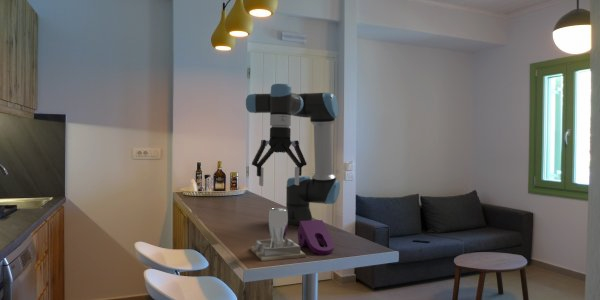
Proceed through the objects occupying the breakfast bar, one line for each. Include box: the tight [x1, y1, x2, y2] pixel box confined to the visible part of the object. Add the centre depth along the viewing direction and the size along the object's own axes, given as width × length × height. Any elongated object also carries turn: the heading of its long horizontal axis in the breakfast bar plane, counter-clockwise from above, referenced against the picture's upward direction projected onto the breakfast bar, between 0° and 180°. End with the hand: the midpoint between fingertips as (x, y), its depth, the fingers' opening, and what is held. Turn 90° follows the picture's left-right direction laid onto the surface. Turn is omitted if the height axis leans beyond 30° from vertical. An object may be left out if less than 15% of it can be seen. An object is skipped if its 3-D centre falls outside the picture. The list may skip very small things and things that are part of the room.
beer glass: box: [268, 207, 289, 248], centre depth 148 cm, size 7×7×15 cm
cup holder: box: [250, 237, 307, 262], centre depth 148 cm, size 16×16×4 cm
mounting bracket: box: [297, 219, 335, 256], centre depth 156 cm, size 10×8×18 cm
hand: (279, 185), depth 148 cm, fingers open, 13 cm apart
